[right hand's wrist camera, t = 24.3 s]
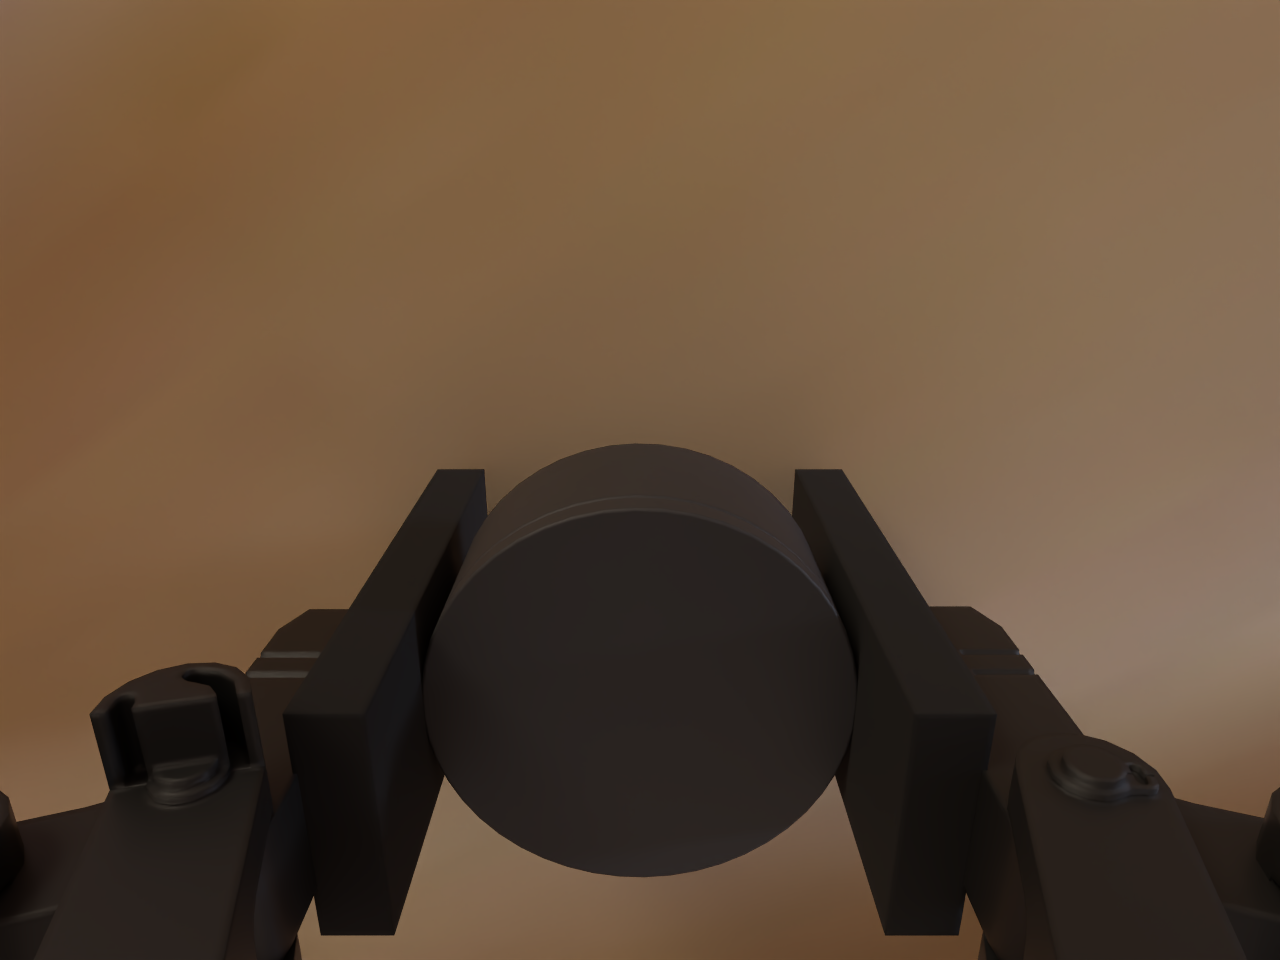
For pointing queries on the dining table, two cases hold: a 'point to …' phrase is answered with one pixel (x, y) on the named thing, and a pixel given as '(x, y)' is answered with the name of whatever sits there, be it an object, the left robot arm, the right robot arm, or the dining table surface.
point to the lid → (639, 666)
